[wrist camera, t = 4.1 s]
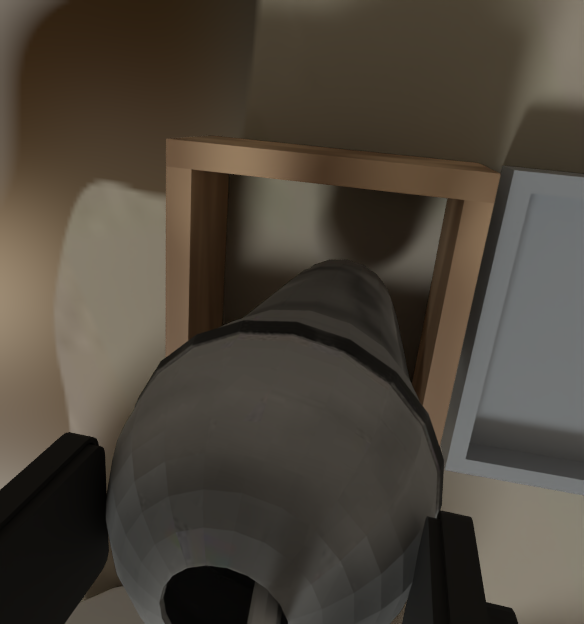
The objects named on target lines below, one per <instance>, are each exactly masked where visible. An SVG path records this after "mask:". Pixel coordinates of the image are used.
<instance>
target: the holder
mask: <svg viewBox="0 0 584 624" xmlns="http://www.w3.org/2000/svg"><path fill="white" fill-rule="evenodd" d="M229 174H238V175H246V176H255V177H264V178H273V179H282V180H291V181H300V182H309V183H317V184H326V185H335V186H344V187H353V188H362V189H371V190H380V191H388V192H397V193H406V194H415V195H424V196H433V197H442V198H447V204H446V209H445V214H444V219H443V225H442V230H441V235H440V240H439V246H438V251H437V256H436V261H435V266H434V272H433V277H432V282H431V287H430V293H429V298H428V303H427V308H426V313H425V319H424V324H423V329H422V334H421V340H420V345H419V350H418V355H417V360H416V366H415V371H414V376H413V381H412V386H413V388H414V390H415V392H416V394H417V396H418V399H419V401H420V403H421V404H422V406H423V407H424V408H425V409H426V411H427V412H428V413H429V416H430V419H431V422H432V425H433V428H434V431H435V434H436V437H437V440H438V443H439V446H440V443H441V439H442V435H443V430H444V426H445V421H446V417H447V412H448V408H449V403H450V399H451V394H452V390H453V385H454V381H455V376H456V372H457V367H458V363H459V358H460V354H461V349H462V345H463V341H464V336H465V332H466V327H467V323H468V318H469V314H470V309H471V305H472V300H473V296H474V291H475V287H476V282H477V278H478V273H479V269H480V264H481V260H482V255H483V251H484V247H485V242H486V238H487V233H488V229H489V224H490V220H491V215H492V211H493V206H494V202H495V197H496V193H497V188H498V184H499V179H500V175H501V174H500V173H498V172H496V171H494V170H492V169H490V168H488V167H486V166H484V165H482V164H480V163H473V162H464V161H454V160H444V159H434V158H425V157H415V156H405V155H396V154H386V153H376V152H366V151H357V150H347V149H337V148H327V147H318V146H308V145H298V144H289V143H279V142H269V141H259V140H250V139H240V138H230V137H220V136H211V135H208V136H195V137H182V138H170V139H166V357H167V356H169V355H170V354H171V353H173V352H174V351H175V350H177V349H178V348H179V347H181V346H182V345H183V344H185V343H186V342H187V341H189V340H190V339H191V338H193V337H194V336H195V335H197V334H200V333H203V332H206V331H209V330H213V329H216V328H219V327H221V326H222V324H223V302H224V279H225V257H226V234H227V212H228V189H229Z"/></svg>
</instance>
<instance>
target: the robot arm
mask: <svg viewBox="0 0 584 624" xmlns="http://www.w3.org/2000/svg"><path fill="white" fill-rule="evenodd" d="M106 498H107V493H106V467H105V451H104V448H103V447H101V446H99V444H98V441H97V439H96V438H94V437H90V436H85V435H80V434H75V433H71V432H68V433H65V434H64V435H62V436H61V437H60V438H59V439H57V440H56V441H55V442H54V443H53V444H52V445H51V446H50V447H49V448H47V449H46V450H45V451H44V452H43V453H42V454H40V455H39V456H38V457H37V458H36V459H35V460H34V461H33V462H31V463H30V464H29V465H28V466H27V467H26V468H25V469H24V470H22V471H21V472H20V473H19V474H18V475H17V476H16V477H14V478H13V479H12V480H11V481H10V482H9V483H8V484H7V485H5V486H4V487H3V488H2V489H1V490H0V624H65V623H66V621H67V620H68V618H69V617H70V616H71V614H72V613H73V611H74V610H75V608H76V607H77V606H78V604H79V603H80V601H81V600H82V598H83V597H84V595H85V594H86V593H87V591H88V590H89V588H90V587H91V585H92V584H93V583H94V581H95V580H96V578H97V577H98V575H99V574H100V572H101V571H102V569H103V568H104V566H105V563H106V561H107V557H108V552H109V545H108V529H107V524H106ZM402 624H518V622H517V618H516V615H515V613H514V611H513V609H512V608H509V607H504V606H500V605H496V604H492V603H487V602H486V600H485V594H484V587H483V581H482V575H481V569H480V563H479V557H478V550H477V544H476V538H475V532H474V526H473V521H472V518H471V517H468V516H464V515H459V514H454V513H450V512H445V511H439V512H438V515H437V518H433V517H428V516H427V517H426V519H425V523H424V528H423V532H422V537H421V541H420V546H419V550H418V555H417V560H416V566H415V571H414V577H413V582H412V585H411V588H410V591H409V595H408V600H407V604H406V609H405V613H404V618H403V622H402Z"/></svg>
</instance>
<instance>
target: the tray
mask: <svg viewBox="0 0 584 624" xmlns="http://www.w3.org/2000/svg"><path fill="white" fill-rule="evenodd" d="M441 447H442V454H443V458H444V468H445V470H447V471H453V472H458V473H464V474H469V475H475V476H480V477H486V478H491V479H497V480H502V481H508V482H513V483H519V484H524V485H530V486H535V487H541V488H546V489H552V490H557V491H563V492H568V493H574V494H579V495H584V174H580V173H571V172H561V171H551V170H541V169H532V168H522V167H512V166H503V167H502V172H501V176H500V180H499V185H498V189H497V194H496V198H495V203H494V207H493V212H492V216H491V221H490V225H489V230H488V234H487V239H486V243H485V248H484V252H483V257H482V261H481V265H480V270H479V274H478V279H477V283H476V288H475V292H474V297H473V301H472V306H471V310H470V315H469V319H468V324H467V328H466V333H465V337H464V342H463V346H462V350H461V355H460V359H459V364H458V368H457V373H456V377H455V382H454V386H453V391H452V395H451V400H450V404H449V409H448V413H447V418H446V422H445V426H444V431H443V435H442V440H441Z"/></svg>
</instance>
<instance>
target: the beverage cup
mask: <svg viewBox="0 0 584 624" xmlns="http://www.w3.org/2000/svg"><path fill="white" fill-rule="evenodd" d="M443 471H444V458H443V455H442V452H441V449H440V446H439V443H438V440H437V437H436V434H435V431H434V428H433V425H432V422H431V419H430V416H429V413H428V412H427V411H426V409H425V408H424V407H423V406H422V404H421V403H420V401H419V399H418V396H417V394H416V392H415V390H414V388H413V386H412V384H411V382H410V380H409V375H408V370H407V365H406V360H405V355H404V350H403V345H402V341H401V336H400V331H399V326H398V321H397V316H396V313H395V310H394V307H393V304H392V301H391V297H390V295H389V292H388V289H387V287H386V286H385V285H384V283H383V282H382V281H381V279H380V278H379V277H378V275H377V274H375V273H374V272H373V271H371V270H370V269H368V268H367V267H366V266H364V265H362V264H359V263H356V262H353V261H350V260H327V261H324V262H321V263H318V264H315V265H313V266H312V267H311V268H309V269H306V270H304V271H303V272H302V273H300V274H299V275H298V276H296V277H295V278H293V279H292V280H291V281H289V282H288V283H287V284H286V285H284V286H283V287H282V288H281V289H279V290H278V291H277V292H275V293H274V294H273V295H272V296H270V297H269V298H268V299H267V300H265V301H264V302H263V303H261V304H260V305H259V306H258V307H256V308H255V309H254V310H252V311H251V312H250V313H249V314H247V315H246V316H245V317H244V318H242V319H238V320H235V321H232V322H230V323H228V324H226V325H223V326H221V327H219V328H216V329H213V330H209V331H206V332H203V333H200V334H197V335H195V336H194V337H193V338H191V339H190V340H189V341H187V342H186V343H185V344H183V345H182V346H181V347H179V348H178V349H177V350H175V351H174V352H173V353H171V354H170V355H169V356H167V357H166V358H165V359H163V360H162V361H161V362H160V364H159V365H158V367H157V369H156V370H155V372H154V373H153V375H152V377H151V378H150V380H149V382H148V383H147V385H146V386H145V388H144V390H143V391H142V393H141V395H140V396H139V398H138V401H137V403H136V405H135V409H134V410H133V412H132V414H131V415H130V417H129V418H128V420H127V422H126V423H125V425H124V428H123V430H122V432H121V434H120V436H119V438H118V440H117V444H116V448H115V452H114V456H113V460H112V466H111V472H110V478H109V484H108V490H107V498H106V524H107V529H108V534H109V539H110V544H111V549H112V554H113V559H114V564H115V568H116V573H117V575H118V577H119V579H120V581H121V583H122V585H123V587H124V588H125V590H126V592H127V594H128V596H129V598H130V599H131V601H132V603H133V605H134V607H135V609H136V610H137V612H138V614H139V616H140V618H141V619H142V620H143V621H144V623H145V624H390V623H391V622H392V621H393V619H394V618H395V617H396V616H397V615H398V614H399V613H400V612H401V610H402V608H403V606H404V604H405V602H406V601H407V599H408V595H409V591H410V588H411V585H412V582H413V577H414V571H415V566H416V560H417V555H418V550H419V546H420V541H421V537H422V532H423V528H424V523H425V519H426V517H427V516H428V517H433V518H437V515H438V512H439V511H440V509H441V506H442V490H443Z"/></svg>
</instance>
